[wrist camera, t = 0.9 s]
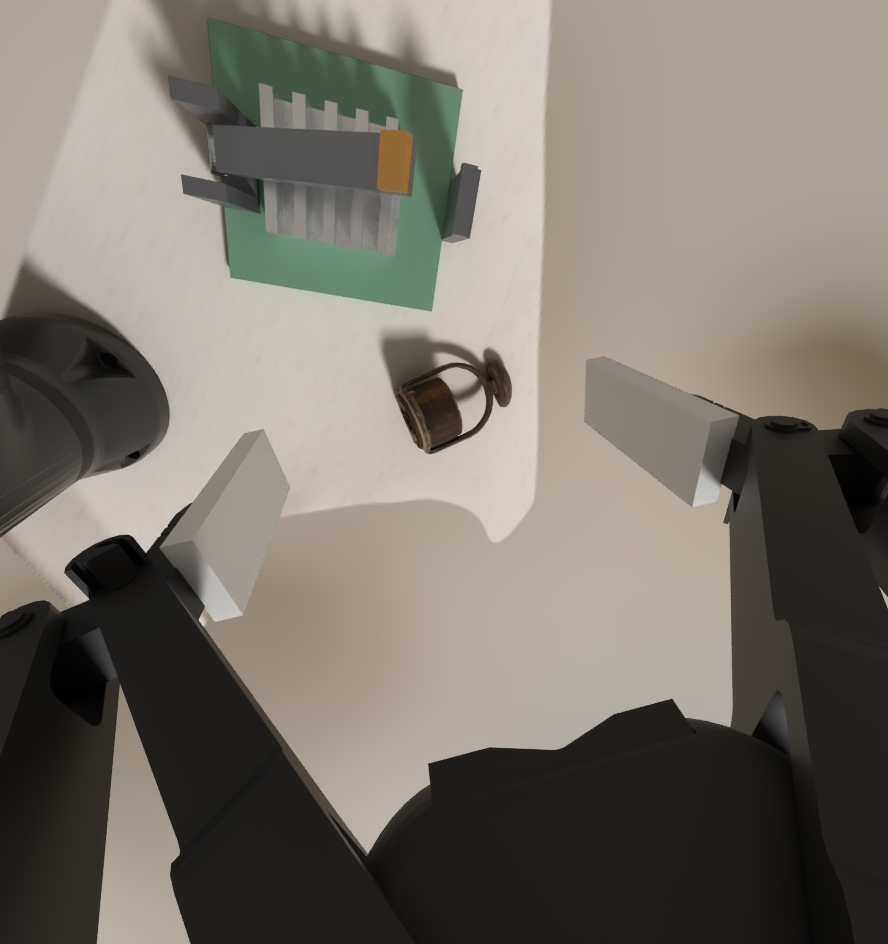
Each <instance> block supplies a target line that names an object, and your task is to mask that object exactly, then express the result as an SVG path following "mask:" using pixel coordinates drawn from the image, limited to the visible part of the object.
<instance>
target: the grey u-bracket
mask: <svg viewBox="0 0 888 944" xmlns="http://www.w3.org/2000/svg"><path fill="white" fill-rule="evenodd" d="M168 80H169V87H170V95H171V99H172V100H173V101H175V102H176V103H177V104H179V105H180V106H182V107H183V108H184V109H186V110H187V111H188V112H190V113H191V114H193V115H194V116H195V117H197V118H198V119H199V120H201V121H202V122H203V123H205V124H206V122H212V123H215V124H218V125H229V126H250V127H256V126H255V125H254V124H253V123H252V122H251V121H250V120H249V119H248V118H247V117H246V116H245V115H244V114H243V113H242V112H241V111H240V110H239V109H238V108H237V107H236V106H235V105H234V104H233V103H232V102H231V101H230V100H229V99H228V98H227V97H226V96H225V95H224V94H223V93H222V92H221V91H220V90H219V89H218V88H215V87H211V86H207V85H203V84H199V83H195V82H191V81H187V80H183V79H179V78H175V77H171V76H168ZM181 178H182V186H183V194H186V195H190V196H193V197H196V198H199V199H202V200H205V201H208V202H211V203H215V204H218V205H221V206H224V207H227V208H232V209H237V210H242V211H247V212H252V213H257V214H261V208H260V189H259V179H251V178H243V177H234V176H228V178H225V177H221V179H222V183H220V182H215V181H210V180H205V179H200V178H196V177H191V176H186V175H181Z"/></svg>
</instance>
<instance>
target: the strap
mask: <svg viewBox="0 0 888 944" xmlns="http://www.w3.org/2000/svg"><path fill="white" fill-rule="evenodd" d="M206 129H207V139H208V149H209V159H210V169H211V174H213V175H217V176H221V177H225V178H228V176H234V177H243V178H251V179H260V180H268V181H277V182H286V183H294V184H303V185H311V186H320V187H328V188H337V189H346V190H354V191H363V192H371V193H380V194H388V195H397V196H405V197H412V189H413V180H414V170H415V160H416V150H417V141H418V140H417V139H415V138H414V137H413V134H411V133H410V132H409V131H401V130H380V133H374V132H353V131H333V130H312V129H291V128H270V127H250V126H229V125H218V124H215V123H212V122H206Z"/></svg>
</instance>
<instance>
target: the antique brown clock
mask: <svg viewBox="0 0 888 944" xmlns="http://www.w3.org/2000/svg"><path fill="white" fill-rule="evenodd" d="M454 367H459V368H463V369H467V370H469V371H470V372H472V373H474V374H475V375H476V376H477V377H478V378H479V380H480V381H481V383H482V384H483V387H484V391H485V395H486V409H485V413H484V415H483V417H482V419H481V420H480V422H479V423H478V424H477V426H476V427H474V428H473V429H472V430H470V431H468V432H466V433H464V434H462V435H460V434H461V433H462V419H461V414H460V411H459V409H458V406H457V403H456V400H455V398H454V396H453V394H452V392H451V390H450V389H449V387H448V386H447V384H446V383H445V382H444V381H443V380H442V379H441V378H435V379H432V380H430V381H427V382H425V383H423V384H420V385H418V386H415V387H413V388H411V389H407V390H406V389H405V387H406V386H409V385H412V384H414V383H417V382H419V381H422V380H424V379H426V378H428V377H430V376H432V375H434V374H437V373H440V372H442V371H444V370H447V369H449V368H454ZM487 372H488V378H489V381H488V380H487V378H486V377H485V376H484V375H483V374H482V373H481V372H480V371H479V370H478V369H476V368H475V367H473V366H471V365H468V364H465V363H449V364H446V365H442V366H440V367H438V368H435V369H433V370H430V371H428V372H426V373H423V374H421V375H418V376H416V377H414V378H411V379H409V380H407V381H404V382H403V383H402V384H400V386H399V390H400V391H398V392H396V393H395V397H396V400H397V402H398V405H399V407H400V410H401V413H402V415H403V418H404V420H405V422H406V425H407V427H408V429H409V432H410V434H411V436H412V439H413V441H414V443H415V444H416V445H417V446H418V448H420V449H423V450H424V451H425V452H426V453H427V454H433V453H437V452H439V451H441V450H443V449H445V448H447V447H450V446H452V445H454V444H457V443H459V442H461V441H463V440H465V439H468V438H470V437H472V436H473V435H475V434H476V433H478V432H479V431H480V430H481V429H482V428H483V426H484V425H485V424H486V422H487V421H488V419H489V416H490V414H491V411H492V406H493V394H494V396H495V398H496V400H497V402H498V404H499V405H500V407H506V406H507V405H508V404H509V403H510V400H511V396H512V385H511V380H510V377H509V374H508V372H507V371H506V369H505V368H504V367H503V366H502V365H501V364H500V363H499V362H497V361H496V360H490V361H489V362H488V364H487ZM458 435H460V436H458ZM430 448H431V449H430Z"/></svg>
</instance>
